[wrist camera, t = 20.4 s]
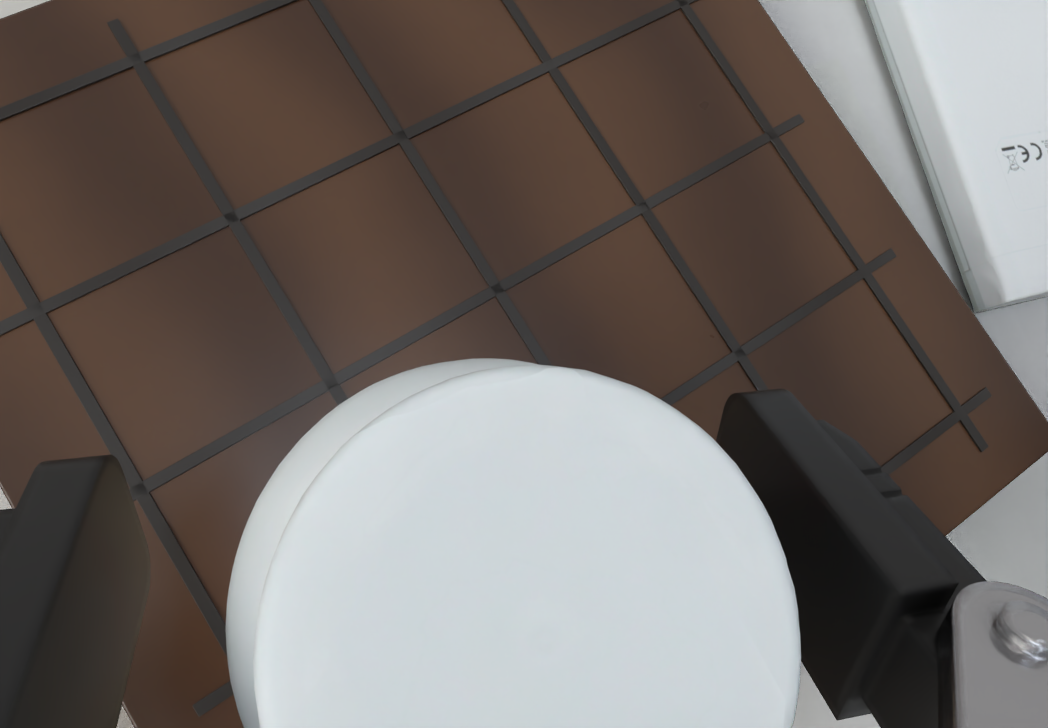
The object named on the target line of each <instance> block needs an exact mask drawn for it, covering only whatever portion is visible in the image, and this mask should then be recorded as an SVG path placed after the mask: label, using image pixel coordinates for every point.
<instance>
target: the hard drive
mask: <svg viewBox="0 0 1048 728" xmlns="http://www.w3.org/2000/svg"><path fill="white" fill-rule="evenodd" d="M864 1H865V4H866V7H867V10H868V12H869V15H870V17H871V20H872V24H873V27H874V29H875V32H876V36H877V38H878V41H879V44H880V47H881V50H882V53H883V55H884V58H885V61H886V64H887V67H888V69H889V72H890V75H891V78H892V81H893V84H894V86H895V88H896V91H897V94H898V97H899V100H900V103H901V106H902V109H903V112H904V115H905V118H906V121H907V124H908V127H909V130H910V133H911V135H912V138H913V141H914V144H915V147H916V149H917V152H918V155H919V159H920V161H921V164H922V166H923V169H924V172H925V175H926V178H927V181H928V183H929V186H930V189H931V192H932V195H933V197H934V200H935V203H936V206H937V209H938V212H939V215H940V218H941V220H942V223H943V226H944V228H945V231H946V234H947V237H948V240H949V243H950V246H951V249H952V252H953V254H954V257H955V259H956V262H957V265H958V268H959V270H960V273H961V275H962V278H963V282H964V285H965V287H966V290H967V292H968V295H969V297H970V300H971V303H972V306H973V309H974V312H975V313H977V312H982V311H987V310H992V309H996V308H1000V307H1005V306H1009V305H1013V304H1017V303H1022V302H1026V301H1031V300H1035V299H1039V298H1043V297H1048V0H864Z"/></svg>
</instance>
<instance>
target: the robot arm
mask: <svg viewBox="0 0 1048 728" xmlns="http://www.w3.org/2000/svg"><path fill="white" fill-rule="evenodd" d="M716 442H717V443H718V445H719V446H720V447H721V448H722V449H723V450H724V451H725V452H726V453H727V454H728V455H729V457H730V458H731V459H732V460H733V461H734V462H735V463H736V464H737V466H738V467H739V469H740V470H741V472H742V473H743V475H744V476H745V477H746V479H747V480H748V482H749V483H750V485H751V486H752V488H753V489H754V491H755V492H756V494H757V495H758V497H759V498H760V500H761V502H762V503H763V505H764V507H765V509H766V511H767V513H768V515H769V517H770V518H771V520H772V523H773V526H774V528H775V531H776V533H777V536H778V538H779V541H780V543H781V546H782V549H783V551H784V554H785V557H786V561H787V565H788V569H789V572H790V575H791V578H792V582H793V585H794V588H795V594H796V600H797V606H798V617H799V628H800V642H801V661H802V663H803V665H804V666H805V668H806V670H807V671H808V673H809V675H810V676H811V678H812V680H813V681H814V683H815V685H816V686H817V688H818V690H819V691H820V693H821V695H822V696H823V698H824V700H825V701H826V703H827V705H828V706H829V708H830V710H831V711H832V713H833V715H834V716H835V718H836V720H842V719H846V718H851V717H856V716H861V715H866V714H870V713H872V715H873V716H874V718H875V719H876V721H877V722H878V724H879V725H880V727H881V728H1048V599H1046V598H1045V597H1043V596H1041V595H1039V594H1036V593H1034V592H1032V591H1030V590H1027V589H1025V588H1022V587H1019V586H1015V585H1012V584H1008V583H1002V582H990V581H986V580H985V579H984V578H983V577H982V576H981V575H980V574H979V573H978V571H977V570H976V569H975V568H974V567H973V566H972V565H971V564H970V563H969V562H968V561H967V560H966V558H965V557H964V556H963V555H962V554H961V553H960V552H959V551H958V550H957V549H956V548H955V547H954V545H953V544H952V543H951V542H950V541H949V540H948V539H947V538H946V537H945V536H944V535H943V534H942V532H941V531H940V530H939V529H938V528H937V527H936V526H935V525H934V524H933V523H932V522H931V521H930V519H929V518H928V517H927V516H926V515H925V514H924V513H923V512H922V511H921V510H920V509H919V508H918V506H917V505H916V504H915V503H914V502H913V501H912V500H911V499H910V498H909V497H908V496H907V495H902V492H901V490H902V489H901V488H900V487H899V486H898V485H897V484H896V483H895V482H894V480H893V479H892V478H891V477H890V476H889V475H888V474H887V473H882V471H881V468H882V467H881V466H880V465H879V464H878V463H877V462H876V461H875V460H874V459H873V458H872V457H871V456H870V454H869V453H868V452H867V451H866V450H865V449H864V448H863V447H862V446H861V445H860V444H859V443H858V441H856V440H855V439H853V438H852V437H850V436H848V435H847V434H845V433H844V432H842V431H840V430H839V429H837V428H836V427H834V426H832V425H831V424H829V423H828V422H826V421H825V420H815V419H814V417H813V416H812V415H811V414H810V413H809V412H808V411H807V410H806V408H805V407H804V406H803V405H802V404H801V403H800V402H799V401H798V399H797V398H796V397H795V396H794V395H793V394H792V393H791V392H790V391H788V390H786V389H771V390H761V391H751V392H741V393H734V394H732V395H730V396H729V398H728V399H727V401H726V403H725V406H724V409H723V413H722V418H721V422H720V426H719V430H718V434H717V438H716ZM149 587H150V555H149V549H148V544H147V541H146V537H145V534H144V532H143V529H142V526H141V523H140V520H139V517H138V514H137V511H136V508H135V505H134V502H133V499H132V496H131V493H130V490H129V487H128V484H127V481H126V478H125V475H124V473H123V470H122V467H121V464H120V463H119V461H118V459H117V458H116V457H115V456H114V455H101V456H91V457H81V458H72V459H62V460H52V461H44V462H41V463H39V464H38V465H37V466H36V468H35V469H34V471H33V473H32V475H31V477H30V479H29V481H28V483H27V486H26V488H25V490H24V492H23V494H22V496H21V498H20V500H19V502H18V504H17V506H16V508H14V509H5V510H0V728H116V726H117V722H118V718H119V714H120V710H121V706H122V701H123V697H124V693H125V689H126V685H127V681H128V676H129V672H130V668H131V664H132V660H133V656H134V652H135V647H136V643H137V639H138V635H139V631H140V627H141V622H142V618H143V614H144V610H145V606H146V602H147V598H148V593H149Z"/></svg>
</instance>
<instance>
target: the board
mask: <svg viewBox="0 0 1048 728" xmlns="http://www.w3.org/2000/svg"><path fill="white" fill-rule="evenodd" d="M480 358H494V359H510V360H517V361H523V362H529V363H534V364H538V365H549V366H558V367H566V368H574V369H581V370H587V371H591V372H594V373H597V374H600V375H603V376H606V377H610V378H613V379H616V380H618V381H621V382H624V383H627V384H630V385H633V386H635V387H638V388H640V389H642V390H644V391H646V392H648V393H650V394H652V395H654V396H655V397H657V398H659V399H660V400H662V401H664V402H665V403H667V404H669V405H670V406H672V407H673V408H675V409H676V410H678V411H679V412H681V413H682V414H683V415H685V416H686V417H687V418H689V419H690V420H692V421H693V422H694V423H696V424H697V425H698V426H700V427H701V428H702V429H703V430H704V431H705V432H706V433H707V434H709V435H710V436H711V437H712V438H713V439H714V440H715V441H716V438H717V434H718V430H719V426H720V422H721V418H722V413H723V409H724V406H725V403H726V401H727V399H728V398H729V396H730V395H732V394H734V393H741V392H751V391H761V390H771V389H786V390H788V391H790V392H791V393H792V394H793V395H794V396H795V397H796V398H797V399H798V401H799V402H800V403H801V404H802V405H803V406H804V407H805V408H806V410H807V411H808V412H809V413H810V414H811V415H812V416H813V417H814V419H815V420H825V421H826V422H828V423H829V424H831V425H832V426H834V427H836V428H837V429H839V430H840V431H842V432H844V433H845V434H847V435H848V436H850V437H852V438H853V439H855V440H856V441H858V443H859V444H860V445H861V446H862V447H863V448H864V449H865V450H866V451H867V452H868V453H869V454H870V456H871V457H872V458H873V459H874V460H875V461H876V462H877V463H878V464H879V465H880V466H881V467H882V468H881V471H882V473H887V474H888V475H889V476H890V477H891V478H892V479H893V480H894V482H895V483H896V484H897V485H898V486H899V487H900V488H901V489H902V490H901V492H902V495H907V496H908V497H909V498H910V499H911V500H912V501H913V502H914V503H915V504H916V505H917V506H918V508H919V509H920V510H921V511H922V512H923V513H924V514H925V515H926V516H927V517H928V518H929V519H930V521H931V522H932V523H933V524H934V525H935V526H936V527H937V528H938V529H939V530H940V531H941V532H942V534H943V535H944V536H946V535H947V534H948V533H950V532H951V531H952V530H953V529H955V528H956V527H957V526H958V525H959V524H961V523H962V522H963V521H964V520H965V519H967V518H968V517H969V516H970V515H972V514H973V513H974V512H975V511H976V510H978V509H979V508H980V507H981V506H982V505H984V504H985V503H986V502H987V501H989V500H990V499H991V498H992V497H993V496H995V495H996V494H997V493H998V492H999V491H1001V490H1002V489H1003V488H1004V487H1006V486H1007V485H1008V484H1009V483H1010V482H1012V481H1013V480H1014V479H1015V478H1016V477H1018V476H1019V475H1020V474H1021V473H1023V472H1024V471H1025V470H1026V469H1027V468H1029V467H1030V466H1031V465H1032V464H1033V463H1035V462H1036V461H1037V460H1038V459H1040V458H1041V457H1042V456H1043V455H1044V454H1046V453H1047V452H1048V421H1047V420H1046V418H1045V417H1044V415H1043V414H1042V413H1041V411H1040V410H1039V408H1038V407H1037V405H1036V404H1035V402H1034V401H1033V399H1032V398H1031V397H1030V395H1029V394H1028V392H1027V391H1026V389H1025V388H1024V386H1023V385H1022V383H1021V382H1020V381H1019V379H1018V378H1017V376H1016V375H1015V373H1014V372H1013V370H1012V369H1011V367H1010V366H1009V365H1008V363H1007V362H1006V360H1005V359H1004V357H1003V356H1002V354H1001V353H1000V351H999V350H998V349H997V347H996V346H995V344H994V343H993V341H992V340H991V338H990V337H989V335H988V334H987V333H986V331H985V330H984V328H983V327H982V325H981V324H980V322H979V321H978V319H977V318H976V317H975V315H974V314H973V312H972V311H971V309H970V308H969V306H968V305H967V303H966V302H965V301H964V299H963V298H962V296H961V295H960V293H959V292H958V290H957V289H956V287H955V286H954V285H953V283H952V282H951V280H950V279H949V277H948V276H947V274H946V273H945V271H944V270H943V269H942V267H941V266H940V264H939V263H938V261H937V260H936V258H935V257H934V255H933V254H932V253H931V251H930V250H929V248H928V247H927V245H926V244H925V242H924V241H923V239H922V238H921V237H920V235H919V234H918V232H917V231H916V229H915V228H914V226H913V225H912V223H911V222H910V221H909V219H908V218H907V216H906V215H905V213H904V212H903V210H902V209H901V207H900V206H899V205H898V203H897V202H896V200H895V199H894V197H893V196H892V194H891V193H890V191H889V190H888V189H887V187H886V186H885V184H884V183H883V181H882V180H881V178H880V177H879V175H878V174H877V173H876V171H875V170H874V168H873V167H872V165H871V164H870V162H869V161H868V159H867V158H866V157H865V155H864V154H863V152H862V151H861V149H860V148H859V146H858V145H857V143H856V142H855V141H854V139H853V138H852V136H851V135H850V133H849V132H848V130H847V129H846V127H845V126H844V125H843V123H842V122H841V120H840V119H839V117H838V116H837V114H836V113H835V111H834V110H833V109H832V107H831V106H830V104H829V103H828V101H827V100H826V98H825V97H824V95H823V94H822V93H821V91H820V90H819V88H818V87H817V85H816V84H815V82H814V81H813V79H812V78H811V77H810V75H809V74H808V72H807V71H806V69H805V68H804V66H803V65H802V63H801V62H800V61H799V59H798V58H797V56H796V55H795V53H794V52H793V50H792V49H791V47H790V46H789V45H788V43H787V42H786V40H785V39H784V37H783V36H782V34H781V33H780V31H779V30H778V29H777V27H776V26H775V24H774V23H773V21H772V20H771V18H770V17H769V15H768V14H767V13H766V11H765V10H764V8H763V7H762V5H761V4H760V2H759V1H758V0H50V1H47V2H45V3H42V4H39V5H37V6H34V7H31V8H28V9H26V10H23V11H20V12H18V13H15V14H12V15H10V16H7V17H4V18H1V19H0V487H1V489H2V491H3V493H4V494H5V496H6V498H7V500H8V501H9V503H10V505H11V507H12V509H14V508H16V506H17V504H18V502H19V500H20V498H21V496H22V494H23V492H24V490H25V488H26V486H27V483H28V481H29V479H30V477H31V475H32V473H33V471H34V469H35V468H36V466H37V465H38V464H39V463H41V462H44V461H52V460H62V459H72V458H81V457H91V456H101V455H114V456H115V457H116V458H117V459H118V461H119V463H120V464H121V467H122V470H123V473H124V475H125V478H126V481H127V484H128V487H129V490H130V493H131V496H132V499H133V502H134V505H135V508H136V511H137V514H138V517H139V520H140V523H141V526H142V529H143V532H144V534H145V537H146V541H147V544H148V549H149V555H150V587H149V593H148V598H147V602H146V606H145V610H144V614H143V618H142V622H141V627H140V631H139V635H138V639H137V643H136V647H135V652H134V656H133V660H132V664H131V668H130V672H129V676H128V681H127V685H126V689H125V693H124V697H123V701H122V706H123V708H124V709H125V711H126V713H127V715H128V717H129V718H130V720H131V722H132V724H133V725H134V727H135V728H244V726H243V724H242V721H241V719H240V716H239V712H238V709H237V705H236V701H235V698H234V694H233V690H232V686H231V682H230V675H229V668H228V659H227V647H226V631H225V630H226V611H227V598H228V590H229V585H230V579H231V574H232V569H233V565H234V561H235V557H236V553H237V550H238V546H239V543H240V540H241V537H242V534H243V531H244V529H245V526H246V524H247V521H248V519H249V517H250V514H251V512H252V510H253V508H254V506H255V503H256V501H257V499H258V498H259V496H260V494H261V492H262V491H263V489H264V488H265V486H266V484H267V483H268V481H269V479H270V478H271V476H272V475H273V473H274V472H275V470H276V469H277V467H278V466H279V464H280V463H281V462H282V460H283V459H284V458H285V457H286V456H287V454H288V453H289V452H290V451H291V450H292V448H293V447H294V446H295V445H296V444H297V442H298V441H299V440H300V439H301V438H302V437H303V436H304V435H305V434H306V433H307V432H308V431H309V430H310V429H311V428H312V427H313V426H314V425H315V424H317V423H318V422H319V421H320V420H321V419H322V418H323V417H324V416H325V415H327V414H328V413H329V412H330V411H332V410H333V409H334V408H336V407H337V406H338V405H339V404H341V403H342V402H344V401H346V400H347V399H349V398H350V397H352V396H353V395H355V394H356V393H358V392H360V391H362V390H363V389H365V388H367V387H369V386H370V385H372V384H374V383H377V382H379V381H381V380H384V379H386V378H388V377H391V376H394V375H396V374H399V373H401V372H404V371H408V370H411V369H414V368H418V367H421V366H426V365H431V364H436V363H442V362H449V361H456V360H465V359H480Z"/></svg>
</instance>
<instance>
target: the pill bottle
mask: <svg viewBox="0 0 1048 728" xmlns="http://www.w3.org/2000/svg"><path fill="white" fill-rule="evenodd" d="M225 631H226V647H227V659H228V668H229V675H230V682H231V686H232V690H233V694H234V698H235V701H236V705H237V709H238V712H239V716H240V719H241V721H242V724H243V726H244V728H792V725H793V721H794V718H795V712H796V706H797V700H798V693H799V685H800V667H801V642H800V628H799V617H798V606H797V600H796V594H795V588H794V585H793V582H792V578H791V575H790V572H789V569H788V565H787V561H786V557H785V554H784V551H783V549H782V546H781V543H780V541H779V538H778V536H777V533H776V531H775V528H774V526H773V523H772V520H771V518H770V517H769V515H768V513H767V511H766V509H765V507H764V505H763V503H762V502H761V500H760V498H759V497H758V495H757V494H756V492H755V491H754V489H753V488H752V486H751V485H750V483H749V482H748V480H747V479H746V477H745V476H744V475H743V473H742V472H741V470H740V469H739V467H738V466H737V464H736V463H735V462H734V461H733V460H732V459H731V458H730V457H729V455H728V454H727V453H726V452H725V451H724V450H723V449H722V448H721V447H720V446H719V445H718V443H717V442H716V441H715V440H714V439H713V438H712V437H711V436H710V435H709V434H707V433H706V432H705V431H704V430H703V429H702V428H701V427H700V426H698V425H697V424H696V423H694V422H693V421H692V420H690V419H689V418H687V417H686V416H685V415H683V414H682V413H681V412H679V411H678V410H676V409H675V408H673V407H672V406H670V405H669V404H667V403H665V402H664V401H662V400H660V399H659V398H657V397H655V396H654V395H652V394H650V393H648V392H646V391H644V390H642V389H640V388H638V387H635V386H633V385H630V384H627V383H624V382H621V381H618V380H616V379H613V378H610V377H606V376H603V375H600V374H597V373H594V372H591V371H587V370H581V369H574V368H566V367H558V366H549V365H538V364H534V363H529V362H523V361H517V360H510V359H494V358H480V359H465V360H456V361H449V362H442V363H436V364H431V365H426V366H421V367H418V368H414V369H411V370H408V371H404V372H401V373H399V374H396V375H394V376H391V377H388V378H386V379H384V380H381V381H379V382H377V383H374V384H372V385H370V386H369V387H367V388H365V389H363V390H362V391H360V392H358V393H356V394H355V395H353V396H352V397H350V398H349V399H347V400H346V401H344V402H342V403H341V404H339V405H338V406H337V407H336V408H334V409H333V410H332V411H330V412H329V413H328V414H327V415H325V416H324V417H323V418H322V419H321V420H320V421H319V422H318V423H317V424H315V425H314V426H313V427H312V428H311V429H310V430H309V431H308V432H307V433H306V434H305V435H304V436H303V437H302V438H301V439H300V440H299V441H298V442H297V444H296V445H295V446H294V447H293V448H292V450H291V451H290V452H289V453H288V454H287V456H286V457H285V458H284V459H283V460H282V462H281V463H280V464H279V466H278V467H277V469H276V470H275V472H274V473H273V475H272V476H271V478H270V479H269V481H268V483H267V484H266V486H265V488H264V489H263V491H262V492H261V494H260V496H259V498H258V499H257V501H256V503H255V506H254V508H253V510H252V512H251V514H250V517H249V519H248V521H247V524H246V526H245V529H244V531H243V534H242V537H241V540H240V543H239V546H238V550H237V553H236V557H235V561H234V565H233V569H232V574H231V579H230V585H229V590H228V598H227V611H226V630H225Z"/></svg>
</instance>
